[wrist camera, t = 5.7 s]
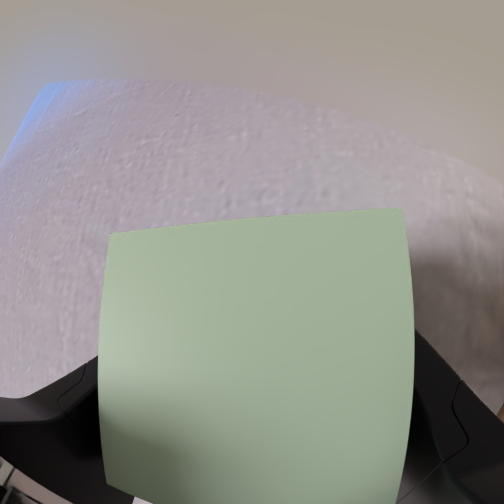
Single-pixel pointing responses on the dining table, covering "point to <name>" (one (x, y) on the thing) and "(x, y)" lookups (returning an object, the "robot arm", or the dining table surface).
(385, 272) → the sage green block
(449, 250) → the dining table surface
